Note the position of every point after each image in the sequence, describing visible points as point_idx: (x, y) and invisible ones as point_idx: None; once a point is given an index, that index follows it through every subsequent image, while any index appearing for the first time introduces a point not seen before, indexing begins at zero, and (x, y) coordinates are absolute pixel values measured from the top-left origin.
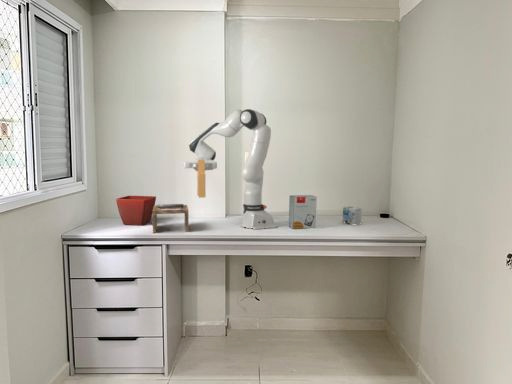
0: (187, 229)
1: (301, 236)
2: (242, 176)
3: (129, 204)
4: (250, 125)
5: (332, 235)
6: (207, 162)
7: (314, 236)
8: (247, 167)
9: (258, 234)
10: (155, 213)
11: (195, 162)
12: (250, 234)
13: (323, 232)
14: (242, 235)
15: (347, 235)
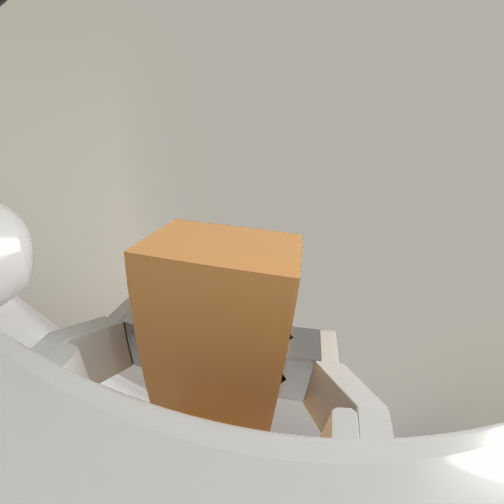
0: None
1: (56, 329)
2: (28, 271)
3: None
4: (3, 3)
5: (20, 309)
6: (14, 344)
7: (42, 319)
8: (16, 214)
9: (104, 381)
10: None
11: (341, 442)
12: (120, 391)
13: (6, 325)
14: (145, 393)
15: (9, 300)
